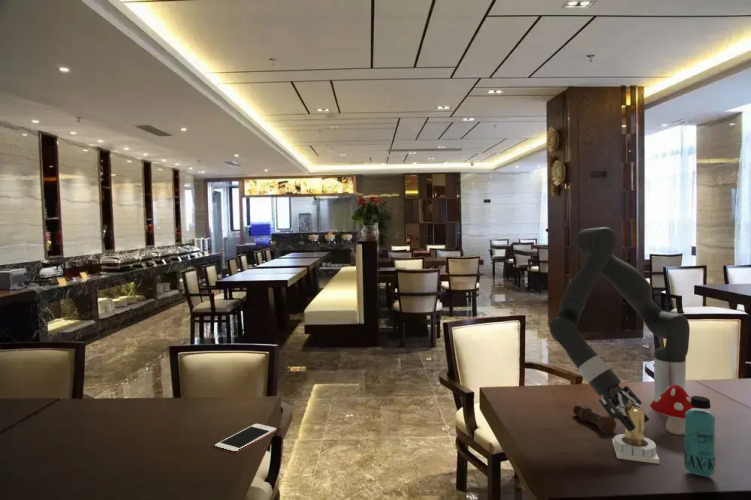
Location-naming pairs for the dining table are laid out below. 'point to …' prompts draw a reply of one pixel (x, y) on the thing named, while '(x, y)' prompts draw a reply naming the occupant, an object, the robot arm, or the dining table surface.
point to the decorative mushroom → (673, 408)
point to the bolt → (595, 419)
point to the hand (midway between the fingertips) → (639, 425)
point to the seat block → (635, 450)
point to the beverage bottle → (699, 438)
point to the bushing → (637, 419)
